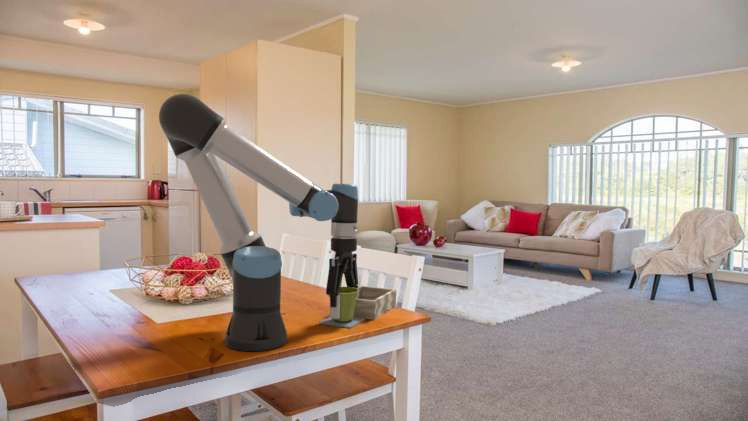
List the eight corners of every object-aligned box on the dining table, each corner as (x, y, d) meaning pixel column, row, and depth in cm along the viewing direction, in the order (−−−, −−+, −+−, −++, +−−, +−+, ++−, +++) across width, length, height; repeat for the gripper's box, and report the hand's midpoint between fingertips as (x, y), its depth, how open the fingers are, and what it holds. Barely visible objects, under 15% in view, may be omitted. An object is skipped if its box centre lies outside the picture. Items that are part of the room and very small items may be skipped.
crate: (374, 319, 156) (375, 301, 156) (335, 314, 161) (335, 296, 161) (395, 306, 174) (396, 289, 174) (359, 301, 179) (360, 285, 179)
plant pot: (329, 324, 147) (330, 293, 147) (323, 315, 156) (324, 286, 156) (361, 322, 150) (362, 292, 149) (354, 314, 159) (354, 286, 158)
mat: (350, 328, 147) (350, 326, 147) (318, 323, 150) (318, 322, 150) (364, 319, 156) (364, 318, 156) (334, 315, 160) (334, 314, 160)
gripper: (339, 241, 140) (337, 324, 141) (370, 234, 161) (368, 307, 162) (314, 239, 143) (312, 321, 144) (348, 233, 163) (346, 304, 165)
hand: (342, 313), depth 153 cm, fingers closed on plant pot, 9 cm apart
